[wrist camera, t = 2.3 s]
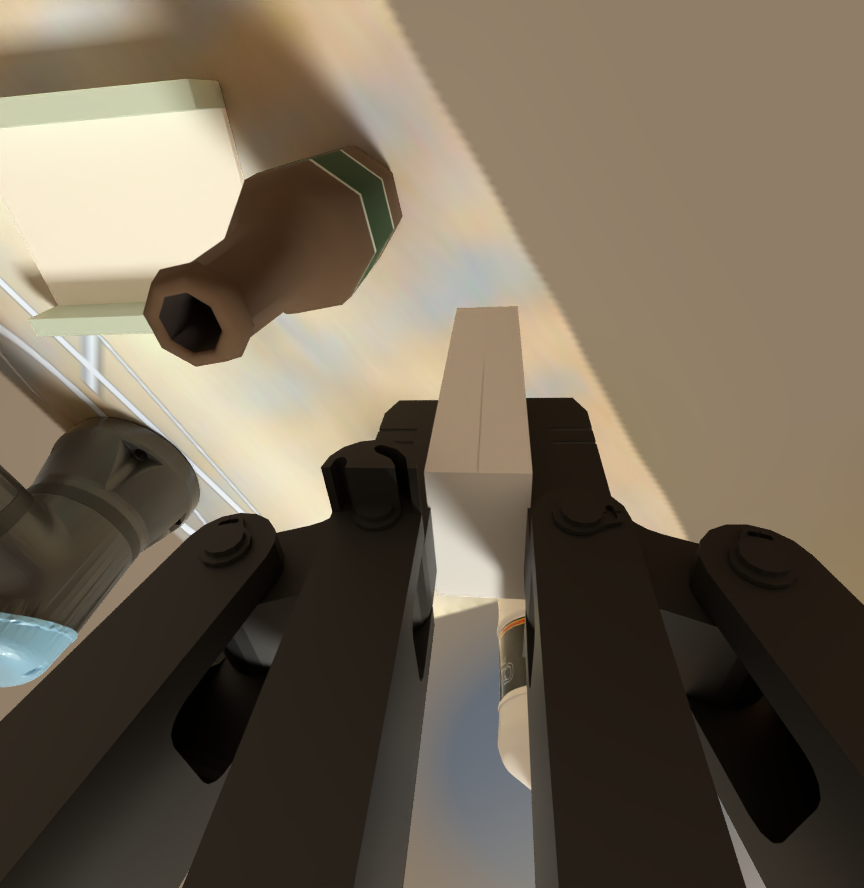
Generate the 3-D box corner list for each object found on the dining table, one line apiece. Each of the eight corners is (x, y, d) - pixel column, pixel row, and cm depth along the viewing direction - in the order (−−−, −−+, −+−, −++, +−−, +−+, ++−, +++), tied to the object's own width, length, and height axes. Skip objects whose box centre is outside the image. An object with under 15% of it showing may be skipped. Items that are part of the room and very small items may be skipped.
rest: (70, 319, 44) (37, 336, 41) (-40, 106, 35) (-94, 107, 32) (278, 312, 42) (260, 330, 38) (218, 80, 32) (187, 78, 29)
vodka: (581, 577, 57) (646, 932, 33) (505, 588, 60) (512, 925, 35) (565, 522, 52) (626, 890, 28) (483, 537, 55) (473, 885, 30)
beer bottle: (280, 188, 36) (28, 292, 16) (359, 116, 33) (163, 139, 13) (348, 277, 39) (204, 451, 20) (425, 219, 36) (345, 358, 17)
